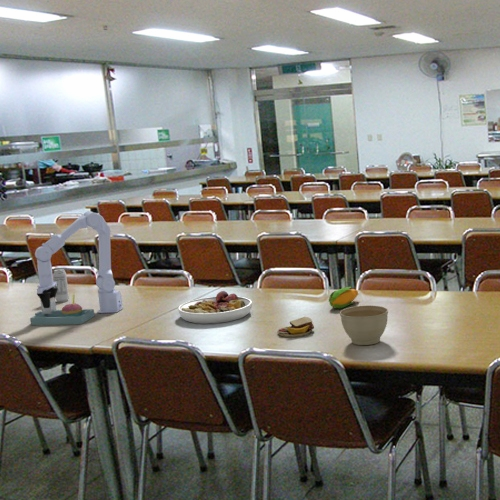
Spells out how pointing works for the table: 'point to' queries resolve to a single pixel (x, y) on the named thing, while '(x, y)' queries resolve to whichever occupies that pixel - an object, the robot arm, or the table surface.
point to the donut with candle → (72, 309)
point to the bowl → (215, 309)
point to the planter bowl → (364, 323)
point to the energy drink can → (61, 285)
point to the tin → (51, 307)
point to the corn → (342, 297)
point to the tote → (61, 318)
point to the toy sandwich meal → (297, 328)
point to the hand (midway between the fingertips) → (49, 306)
